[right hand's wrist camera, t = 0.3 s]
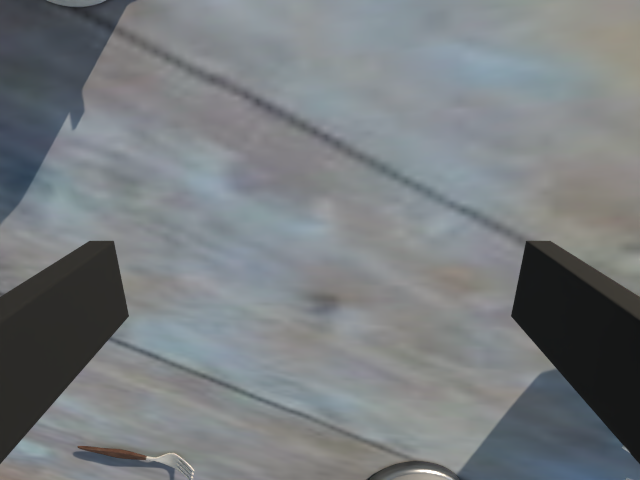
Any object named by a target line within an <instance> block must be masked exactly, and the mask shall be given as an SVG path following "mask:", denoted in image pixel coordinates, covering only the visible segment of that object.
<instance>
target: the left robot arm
mask: <svg viewBox="0 0 640 480" xmlns="http://www.w3.org/2000/svg"><path fill="white" fill-rule="evenodd" d="M46 1H49V2H52V3H55V4H59V5H63V6H70V7H86V6H92V5H96V4H99V3H102V2H104V1H106V0H46Z"/></svg>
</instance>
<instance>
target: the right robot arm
mask: <svg viewBox="0 0 640 480" xmlns="http://www.w3.org/2000/svg"><path fill="white" fill-rule="evenodd" d="M128 317H129V315H128V310H127V305H126V300H125V295H124V290H123V285H122V280H121V275H120V270H119V265H118V260H117V255H116V250H115V245H114V241H89V242H87V243H86V244H84V245H82V246H81V247H79V248H78V249H76V250H74V251H73V252H71V253H70V254H68V255H67V256H65V257H63V258H62V259H60V260H59V261H57V262H55V263H54V264H52V265H51V266H49V267H47V268H46V269H44V270H43V271H41V272H39V273H38V274H36V275H35V276H33V277H31V278H30V279H28V280H27V281H25V282H24V283H22V284H20V285H19V286H17V287H16V288H14V289H12V290H11V291H9V292H8V293H6V294H4V295H3V296H1V297H0V464H1V462H2V461H3V460H4V459H5V458H6V457H7V456H8V454H9V453H10V452H11V451H12V450H13V449H14V448H15V446H16V445H17V444H18V443H19V442H20V441H21V439H22V438H23V437H24V436H25V435H26V434H27V433H28V431H29V430H30V429H31V428H32V427H33V426H34V425H35V423H36V422H37V421H38V420H39V419H40V418H41V417H42V415H43V414H44V413H45V412H46V411H47V410H48V408H49V407H50V406H51V405H52V404H53V403H54V402H55V400H56V399H57V398H58V397H59V396H60V395H61V394H62V392H63V391H64V390H65V389H66V388H67V387H68V385H69V384H70V383H71V382H72V381H73V380H74V379H75V377H76V376H77V375H78V374H79V373H80V372H81V371H82V369H83V368H84V367H85V366H86V365H87V364H88V362H89V361H90V360H91V359H92V358H93V357H94V356H95V354H96V353H97V352H98V351H99V350H100V349H101V348H102V346H103V345H104V344H105V343H106V342H107V341H108V339H109V338H110V337H111V336H112V335H113V334H114V333H115V331H116V330H117V329H118V328H119V327H120V326H121V325H122V323H123V322H124V321H125V320H126V319H127V318H128ZM511 317H512V318H513V319H514V320H515V321H516V322H517V323H518V325H519V326H520V327H521V328H522V329H523V330H524V331H525V333H526V334H527V335H528V336H529V337H530V338H531V339H532V341H533V342H534V343H535V344H536V345H537V346H538V348H539V349H540V350H541V351H542V352H543V353H544V354H545V356H546V357H547V358H548V359H549V360H550V361H551V362H552V364H553V365H554V366H555V367H556V368H557V369H558V371H559V372H560V373H561V374H562V375H563V376H564V377H565V379H566V380H567V381H568V382H569V383H570V384H571V385H572V387H573V388H574V389H575V390H576V391H577V392H578V394H579V395H580V396H581V397H582V398H583V399H584V400H585V402H586V403H587V404H588V405H589V406H590V407H591V408H592V410H593V411H594V412H595V413H596V414H597V415H598V417H599V418H600V419H601V420H602V421H603V422H604V423H605V425H606V426H607V427H608V428H609V429H610V430H611V431H612V433H613V434H614V435H615V436H616V437H617V438H618V439H619V441H620V442H621V443H622V444H623V445H624V446H625V448H626V449H627V450H628V451H629V452H630V453H631V454H632V456H633V457H634V458H635V459H636V460H637V461H638V462H639V464H640V297H639V296H637V295H636V294H634V293H632V292H631V291H629V290H628V289H626V288H624V287H623V286H621V285H620V284H618V283H616V282H615V281H613V280H612V279H610V278H609V277H607V276H605V275H604V274H602V273H601V272H599V271H597V270H596V269H594V268H593V267H591V266H589V265H588V264H586V263H585V262H583V261H581V260H580V259H578V258H577V257H575V256H573V255H572V254H570V253H569V252H567V251H565V250H564V249H562V248H561V247H559V246H558V245H556V244H554V243H553V242H551V241H526V245H525V250H524V255H523V260H522V265H521V270H520V275H519V280H518V285H517V290H516V295H515V300H514V305H513V310H512V315H511ZM369 480H460V479H459V478H458V477H457V476H456V475H455V474H454V473H453V472H452V471H450V470H449V469H447V468H445V467H443V466H440V465H438V464H434V463H429V462H421V461H412V462H404V463H399V464H395V465H392V466H389V467H387V468H385V469H383V470H381V471H379V472H378V473H376V474H375V475H374V476H372V477H371V478H370V479H369Z"/></svg>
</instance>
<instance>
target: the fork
mask: <svg viewBox="0 0 640 480" xmlns="http://www.w3.org/2000/svg"><path fill="white" fill-rule="evenodd" d="M78 448H80V449H83V450H86V451H90V452H95V453H99V454H104V455H108V456H112V457H116V458H123V459H138V460H151V461H157V462H160V463H163V464H165V465H168V466H170V467H173V468H175V469H177V470H178V471H180V472H181V473H182V474H183V475H185V476H186V477H187V478H188V479H189V480H191V479H190V478H189V477H188V476H187V475H186V474H185V473H184V472H183V471H182V470H184V471H185V472H186V473H187V474H188V475H189V476H190V477H191V478H192V479H193V477H192V475H194V473H193V472H192V471H191V470H190V469H189V468H188V467H187V466H186V465H188V466H189V467H190V468H191V469H192V470H193V471H195V470H194V469H193V468H192V467H191V466H190V465H189V464H188V463H187V462H186V461H185V460H184V459H182V458H181V457H180V456H178V455H177V454H175V453H167V454H164V455H162V456H159V457H148V456H145V455H141V454H137V453H134V452H130V451H126V450H120V449H109V448H98V447H89V446H78ZM180 460H181V461H183V462H184V463H185V464H186V465H185V464H183V463H182V462H181V461H180ZM179 463H180V464H181V465H182V466H184V467H185V468H186V469H187V470H188V471H189V472H191V473H192V475H191V474H190V473H189V472H188V471H187V470H185V469H184V468H183V467H182V466H181V465H180V464H179ZM179 467H180V468H181V469H182V470H181V469H180V468H179Z"/></svg>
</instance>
